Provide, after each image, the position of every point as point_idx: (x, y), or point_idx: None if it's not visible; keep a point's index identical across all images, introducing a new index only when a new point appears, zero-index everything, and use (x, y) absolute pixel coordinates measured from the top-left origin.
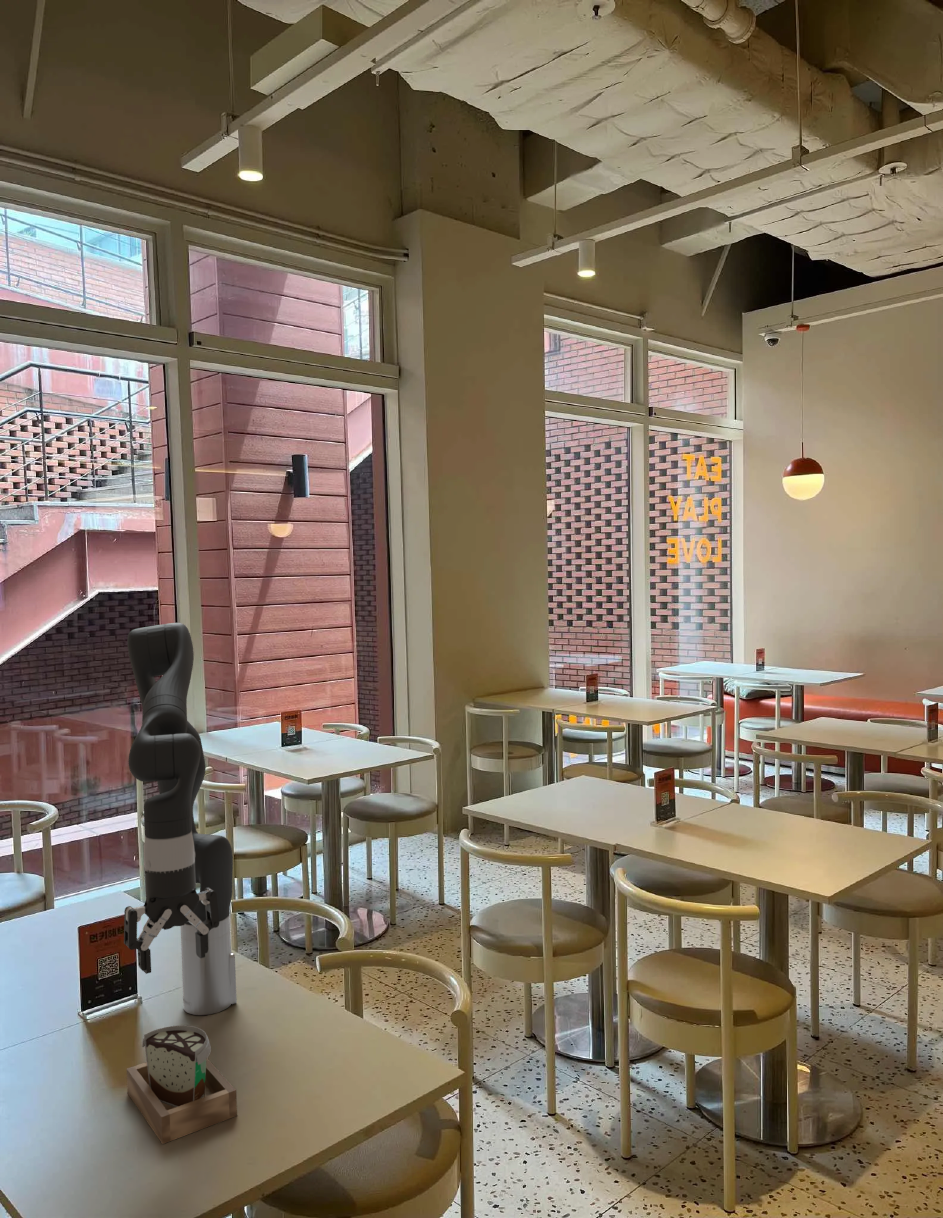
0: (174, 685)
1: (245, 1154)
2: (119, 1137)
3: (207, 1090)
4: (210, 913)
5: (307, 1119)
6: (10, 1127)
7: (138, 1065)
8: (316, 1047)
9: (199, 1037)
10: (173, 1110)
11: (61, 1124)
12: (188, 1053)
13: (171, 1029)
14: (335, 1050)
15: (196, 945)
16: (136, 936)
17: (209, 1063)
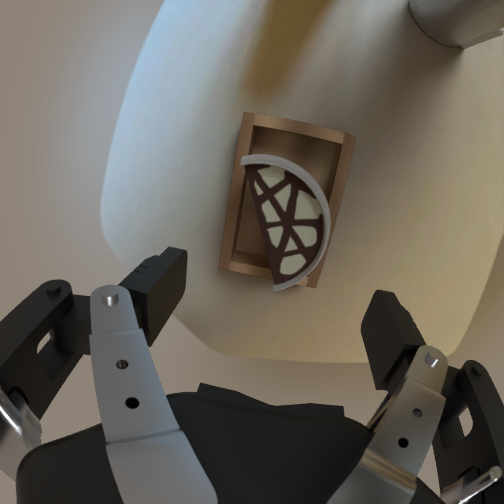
0: None
1: (275, 327)
2: (197, 203)
3: None
4: (439, 457)
5: (350, 328)
6: (125, 94)
7: (261, 116)
8: (459, 225)
9: (316, 237)
10: (236, 267)
11: (162, 126)
12: (271, 269)
13: (295, 175)
14: (461, 249)
15: (385, 314)
16: (63, 380)
17: (338, 201)
